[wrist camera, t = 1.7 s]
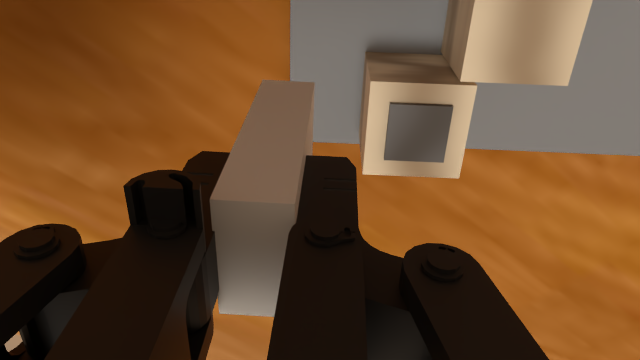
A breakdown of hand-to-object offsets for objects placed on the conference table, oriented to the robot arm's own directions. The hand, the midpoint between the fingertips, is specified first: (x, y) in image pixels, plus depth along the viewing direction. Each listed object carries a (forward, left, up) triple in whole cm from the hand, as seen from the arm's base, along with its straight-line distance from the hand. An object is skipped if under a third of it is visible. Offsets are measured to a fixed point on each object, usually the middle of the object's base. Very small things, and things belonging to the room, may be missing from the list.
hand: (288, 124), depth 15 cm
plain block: (+12, 0, -19) cm, 23 cm away
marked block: (+7, -6, -19) cm, 21 cm away
